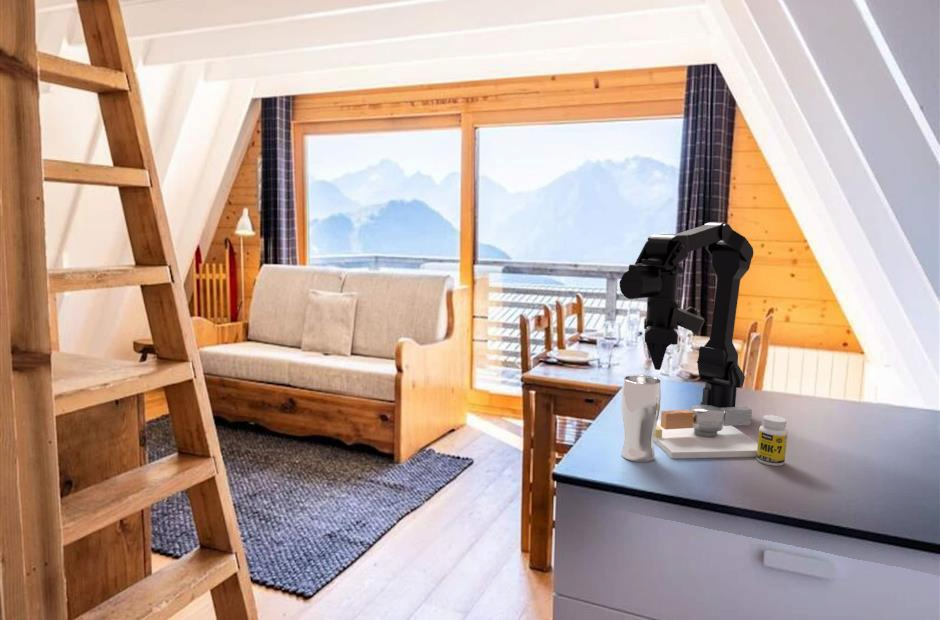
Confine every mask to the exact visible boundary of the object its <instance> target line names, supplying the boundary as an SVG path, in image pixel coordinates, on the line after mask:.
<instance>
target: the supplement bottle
mask: <svg viewBox="0 0 940 620" xmlns="http://www.w3.org/2000/svg"><path fill="white" fill-rule="evenodd" d="M761 424H762V425H760V426H759V429H758V438H757V439H758V440H757V443H758V447H757V457H756V460H757V461H758V462H759V463H761V464H763V465H767V466H773V467H779V466H783V465H784V464H785V462H786V452H787V442H788V441H787V440H788V431H787V429H786V427H787V419H786V418H785V417H782V416H779V415H772V414H765V415H763V416H762V420H761Z"/></svg>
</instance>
